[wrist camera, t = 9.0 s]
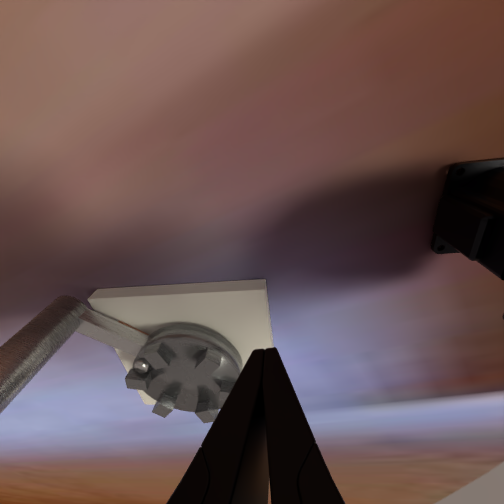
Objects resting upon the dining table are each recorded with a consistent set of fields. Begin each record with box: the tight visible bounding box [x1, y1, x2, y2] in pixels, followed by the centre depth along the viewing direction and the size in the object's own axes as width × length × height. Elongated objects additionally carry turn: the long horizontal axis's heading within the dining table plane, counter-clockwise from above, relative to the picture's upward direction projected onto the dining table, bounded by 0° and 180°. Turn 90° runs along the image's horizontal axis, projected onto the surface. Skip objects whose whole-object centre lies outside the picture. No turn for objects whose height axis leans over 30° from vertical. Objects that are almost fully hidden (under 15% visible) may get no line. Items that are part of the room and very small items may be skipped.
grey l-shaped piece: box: [0, 296, 243, 423], centre depth 16 cm, size 10×19×18 cm, turn 54°
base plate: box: [88, 279, 274, 404], centre depth 26 cm, size 16×16×2 cm
